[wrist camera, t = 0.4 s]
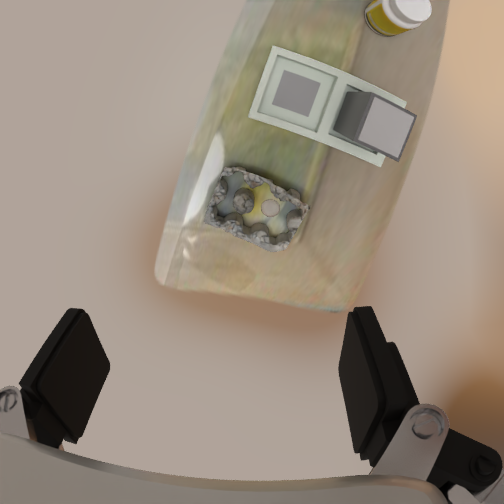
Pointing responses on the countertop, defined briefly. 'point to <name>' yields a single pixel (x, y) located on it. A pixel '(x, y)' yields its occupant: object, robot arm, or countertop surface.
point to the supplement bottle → (396, 15)
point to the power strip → (311, 100)
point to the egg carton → (245, 205)
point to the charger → (375, 123)
